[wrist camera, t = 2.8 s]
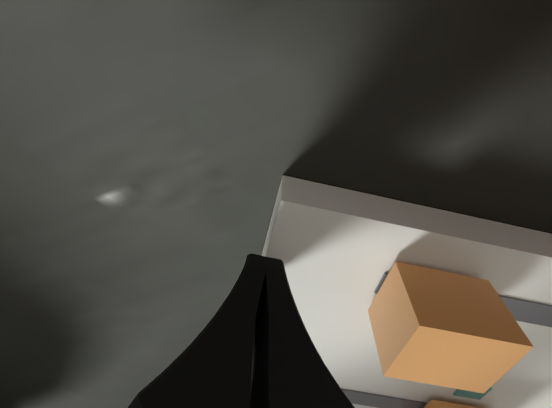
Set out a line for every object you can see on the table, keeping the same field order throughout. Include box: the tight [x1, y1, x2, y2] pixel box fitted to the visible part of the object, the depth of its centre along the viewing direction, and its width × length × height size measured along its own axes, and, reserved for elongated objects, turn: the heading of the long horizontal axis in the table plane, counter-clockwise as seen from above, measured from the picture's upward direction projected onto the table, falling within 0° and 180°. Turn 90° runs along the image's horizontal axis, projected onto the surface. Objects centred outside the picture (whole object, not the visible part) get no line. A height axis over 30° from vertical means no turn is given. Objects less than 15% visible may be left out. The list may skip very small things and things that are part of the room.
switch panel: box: [261, 175, 552, 408], centre depth 17 cm, size 14×20×2 cm
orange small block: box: [368, 262, 533, 393], centre depth 13 cm, size 3×4×3 cm
